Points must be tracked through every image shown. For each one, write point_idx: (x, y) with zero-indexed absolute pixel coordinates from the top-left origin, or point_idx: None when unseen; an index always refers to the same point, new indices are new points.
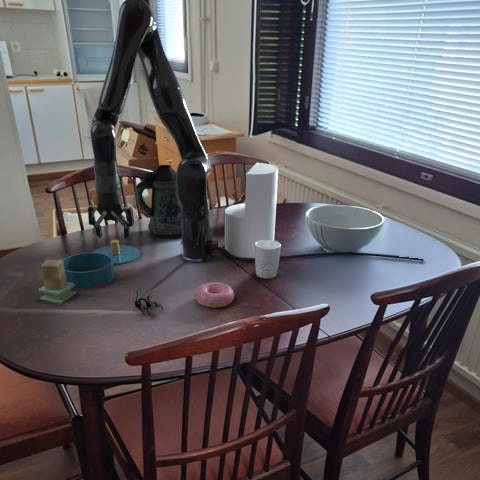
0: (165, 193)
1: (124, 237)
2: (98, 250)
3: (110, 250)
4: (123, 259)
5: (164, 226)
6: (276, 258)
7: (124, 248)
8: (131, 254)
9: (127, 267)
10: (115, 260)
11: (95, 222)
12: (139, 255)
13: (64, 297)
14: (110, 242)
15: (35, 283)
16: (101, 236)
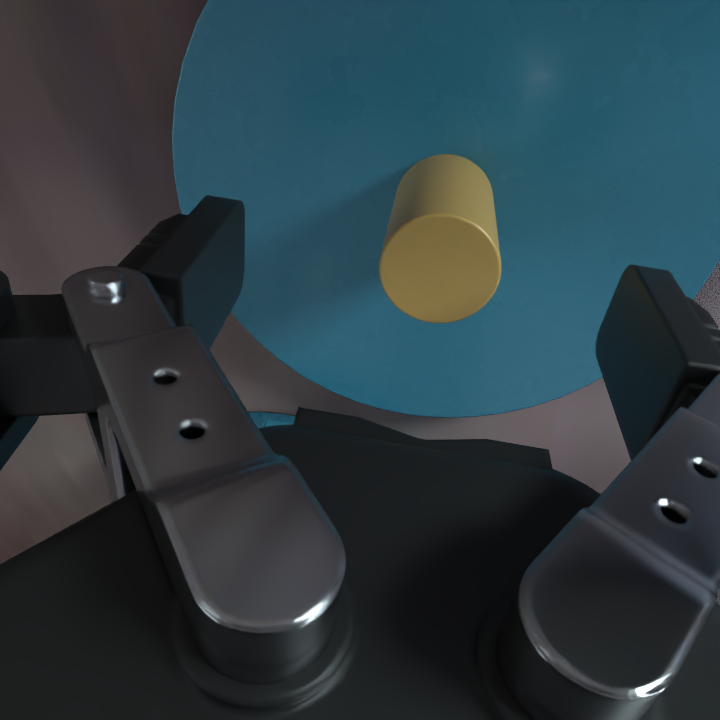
0: None
1: (601, 362)
2: (222, 69)
3: (370, 83)
4: (524, 353)
5: None
6: None
7: (557, 18)
8: (624, 240)
9: (547, 426)
10: (447, 366)
11: (75, 409)
12: (712, 270)
13: None
14: (388, 293)
15: (4, 531)
16: (242, 238)
